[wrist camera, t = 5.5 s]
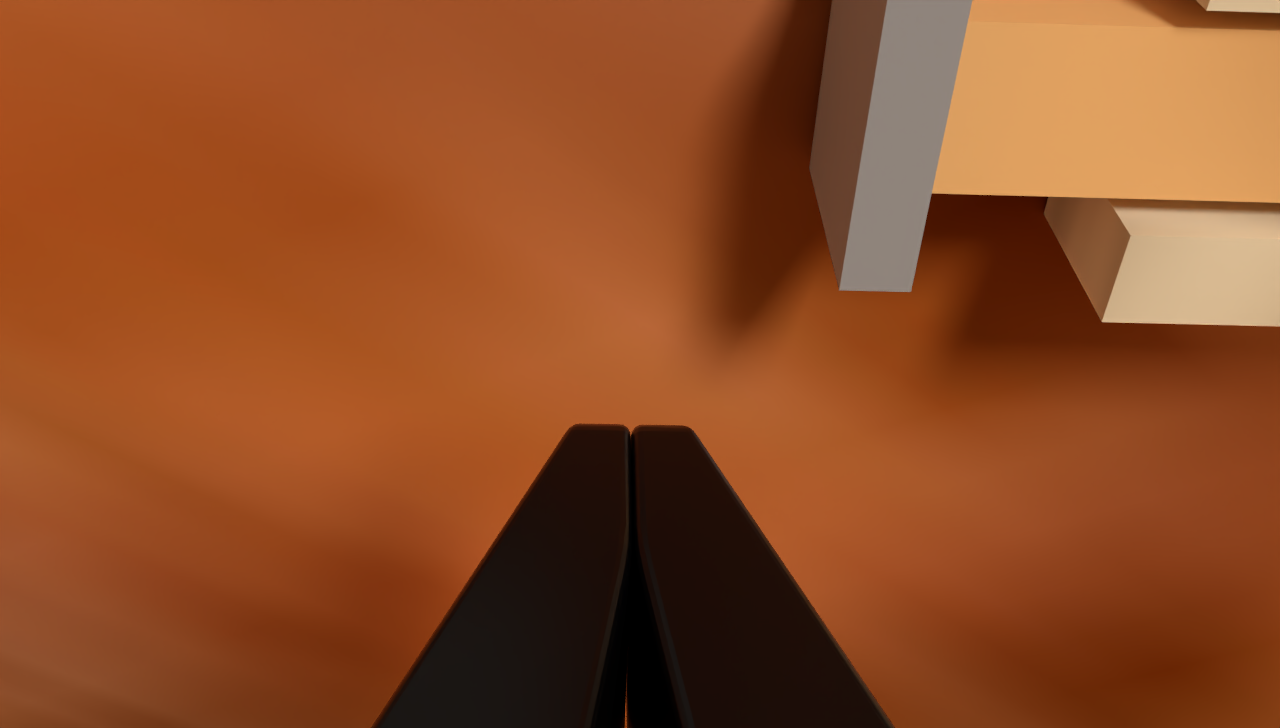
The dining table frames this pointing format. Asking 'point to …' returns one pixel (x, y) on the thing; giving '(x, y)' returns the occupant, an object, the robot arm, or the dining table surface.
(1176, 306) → the socket block
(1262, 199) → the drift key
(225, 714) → the dining table surface
